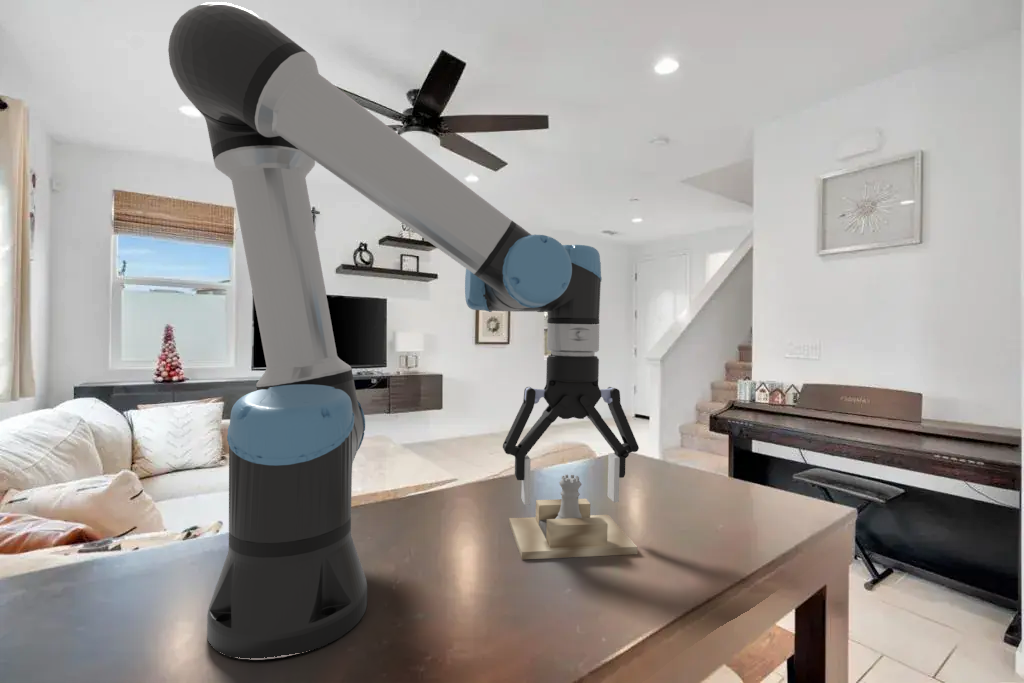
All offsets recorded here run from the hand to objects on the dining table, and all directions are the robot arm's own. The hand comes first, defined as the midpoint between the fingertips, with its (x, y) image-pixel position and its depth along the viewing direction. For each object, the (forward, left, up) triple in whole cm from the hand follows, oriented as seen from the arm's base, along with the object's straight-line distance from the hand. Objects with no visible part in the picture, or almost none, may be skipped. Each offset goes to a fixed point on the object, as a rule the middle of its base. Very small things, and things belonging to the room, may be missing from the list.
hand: (569, 500), depth 72 cm
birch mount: (0, 0, -6) cm, 6 cm away
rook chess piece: (0, 0, -5) cm, 5 cm away
